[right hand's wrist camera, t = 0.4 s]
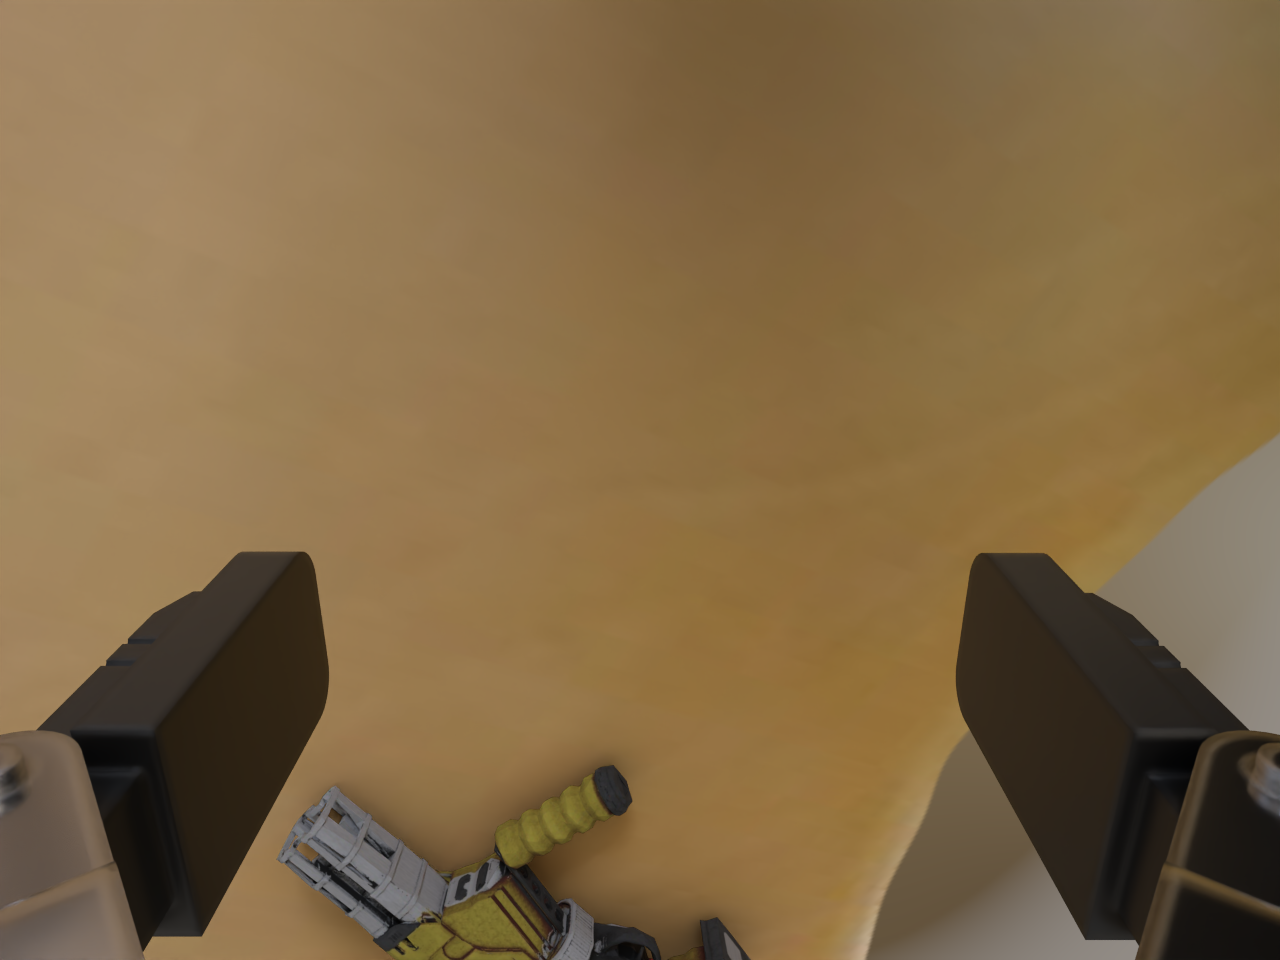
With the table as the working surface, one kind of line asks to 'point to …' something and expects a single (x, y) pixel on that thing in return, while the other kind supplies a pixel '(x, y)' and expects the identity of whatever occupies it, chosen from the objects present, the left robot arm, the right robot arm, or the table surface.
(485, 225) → the table surface
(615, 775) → the toy gun
